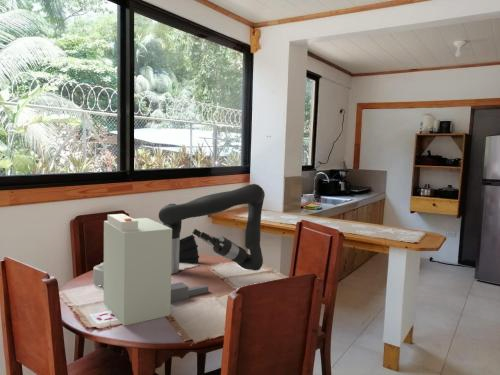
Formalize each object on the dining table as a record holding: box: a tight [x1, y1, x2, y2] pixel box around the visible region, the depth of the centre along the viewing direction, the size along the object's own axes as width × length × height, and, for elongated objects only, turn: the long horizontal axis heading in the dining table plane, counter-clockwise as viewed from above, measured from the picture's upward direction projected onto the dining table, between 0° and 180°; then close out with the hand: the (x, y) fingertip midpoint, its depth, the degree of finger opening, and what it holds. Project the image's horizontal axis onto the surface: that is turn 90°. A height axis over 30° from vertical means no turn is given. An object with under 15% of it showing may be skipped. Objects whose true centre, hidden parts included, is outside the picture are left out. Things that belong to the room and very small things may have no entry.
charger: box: [171, 281, 209, 303], centre depth 162 cm, size 6×20×5 cm, turn 127°
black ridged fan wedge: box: [179, 234, 200, 265], centre depth 209 cm, size 4×13×15 cm, turn 82°
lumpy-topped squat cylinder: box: [92, 261, 104, 286], centre depth 174 cm, size 10×13×9 cm
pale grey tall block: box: [103, 213, 172, 327], centre depth 146 cm, size 24×17×36 cm
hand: (197, 232), depth 162 cm, fingers open, 6 cm apart
